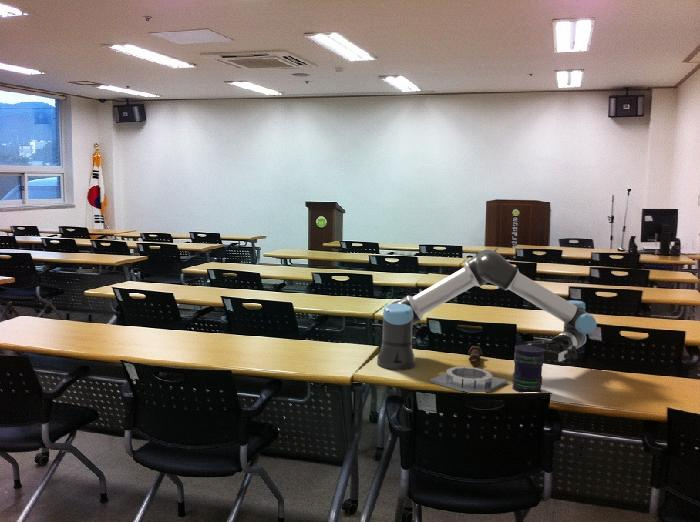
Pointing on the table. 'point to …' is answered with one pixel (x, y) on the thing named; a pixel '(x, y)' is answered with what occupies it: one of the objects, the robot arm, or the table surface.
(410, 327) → the robot arm
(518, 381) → the storage jar
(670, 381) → the table surface
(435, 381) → the hub plate
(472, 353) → the brown tall piece
